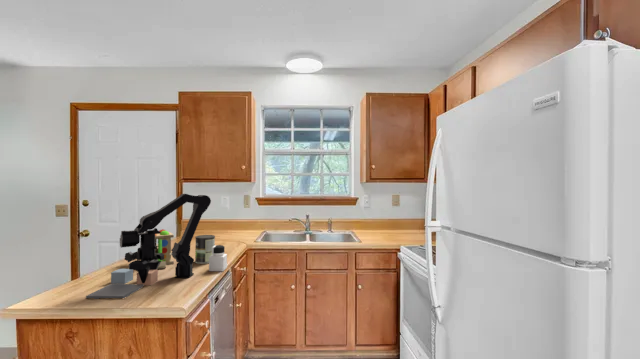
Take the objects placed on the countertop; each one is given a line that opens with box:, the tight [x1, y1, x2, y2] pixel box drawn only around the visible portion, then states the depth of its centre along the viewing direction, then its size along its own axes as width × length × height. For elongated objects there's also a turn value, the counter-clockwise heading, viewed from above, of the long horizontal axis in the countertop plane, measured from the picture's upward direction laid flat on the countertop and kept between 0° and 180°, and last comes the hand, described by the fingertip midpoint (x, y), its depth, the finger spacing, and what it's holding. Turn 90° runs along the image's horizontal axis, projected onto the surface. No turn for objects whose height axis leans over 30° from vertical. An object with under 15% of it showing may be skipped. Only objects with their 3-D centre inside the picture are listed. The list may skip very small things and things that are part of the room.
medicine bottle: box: [208, 244, 228, 272], centre depth 161 cm, size 7×7×12 cm
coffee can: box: [194, 234, 216, 265], centre depth 177 cm, size 10×10×14 cm
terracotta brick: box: [136, 269, 159, 286], centre depth 139 cm, size 6×6×5 cm
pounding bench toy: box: [155, 229, 175, 270], centre depth 170 cm, size 23×14×18 cm, turn 36°
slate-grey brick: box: [110, 268, 134, 284], centre depth 141 cm, size 6×6×5 cm
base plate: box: [85, 283, 145, 300], centre depth 127 cm, size 14×14×1 cm
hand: (147, 280), depth 139 cm, fingers closed on terracotta brick, 6 cm apart
